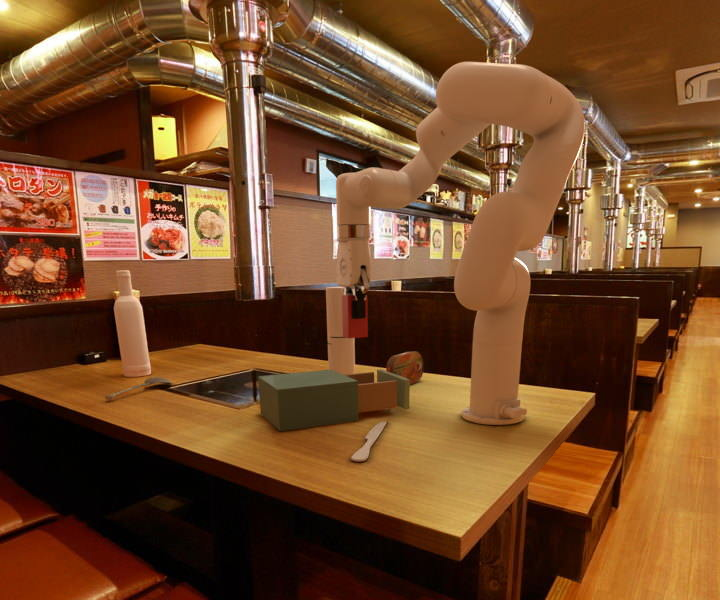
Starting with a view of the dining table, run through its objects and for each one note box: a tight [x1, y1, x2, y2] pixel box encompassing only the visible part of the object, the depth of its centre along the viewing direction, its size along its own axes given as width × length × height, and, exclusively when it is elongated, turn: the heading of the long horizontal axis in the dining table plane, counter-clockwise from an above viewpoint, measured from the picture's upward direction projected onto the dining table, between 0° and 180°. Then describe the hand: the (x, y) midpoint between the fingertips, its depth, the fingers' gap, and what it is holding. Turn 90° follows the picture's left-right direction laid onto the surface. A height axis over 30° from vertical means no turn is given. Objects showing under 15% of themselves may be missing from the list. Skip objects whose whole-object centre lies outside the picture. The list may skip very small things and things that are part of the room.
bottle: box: [113, 269, 152, 378], centre depth 163 cm, size 8×8×30 cm
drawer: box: [345, 368, 411, 413], centre depth 121 cm, size 17×14×6 cm
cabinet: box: [257, 369, 360, 432], centre depth 116 cm, size 17×15×8 cm
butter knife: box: [350, 420, 387, 463], centre depth 101 cm, size 1×24×3 cm
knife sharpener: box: [342, 293, 369, 339], centre depth 131 cm, size 4×5×10 cm
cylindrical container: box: [325, 286, 356, 375], centre depth 147 cm, size 7×7×25 cm
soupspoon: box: [104, 376, 173, 403], centre depth 144 cm, size 22×3×7 cm
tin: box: [385, 350, 425, 386], centre depth 147 cm, size 15×3×8 cm, turn 143°
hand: (355, 316), depth 131 cm, fingers closed on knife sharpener, 3 cm apart
